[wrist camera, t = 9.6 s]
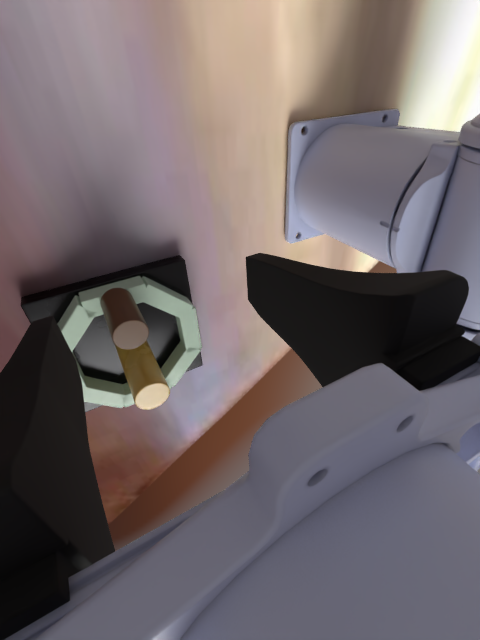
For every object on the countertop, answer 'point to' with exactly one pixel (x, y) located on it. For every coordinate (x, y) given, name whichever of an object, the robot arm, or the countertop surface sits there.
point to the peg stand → (97, 344)
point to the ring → (130, 330)
